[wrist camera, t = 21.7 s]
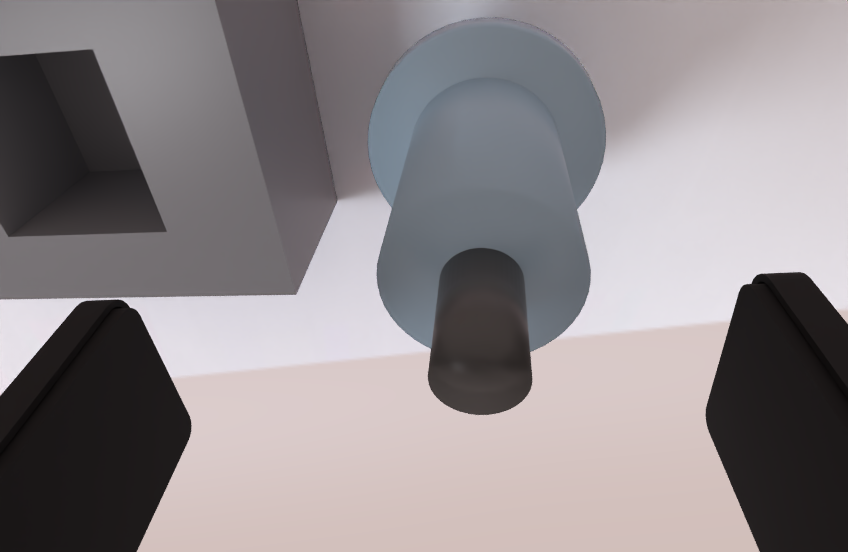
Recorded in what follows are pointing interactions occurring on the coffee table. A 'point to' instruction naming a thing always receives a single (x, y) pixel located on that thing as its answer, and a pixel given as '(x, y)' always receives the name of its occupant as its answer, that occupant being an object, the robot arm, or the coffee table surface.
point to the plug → (485, 201)
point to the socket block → (158, 149)
